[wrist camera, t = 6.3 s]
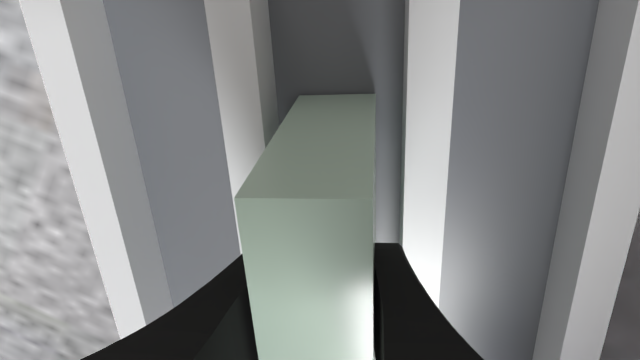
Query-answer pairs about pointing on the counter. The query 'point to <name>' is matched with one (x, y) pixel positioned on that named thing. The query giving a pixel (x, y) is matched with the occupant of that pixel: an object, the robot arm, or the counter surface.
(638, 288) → the counter surface
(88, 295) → the counter surface
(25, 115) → the counter surface
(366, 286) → the mint green upright block
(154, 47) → the rack
